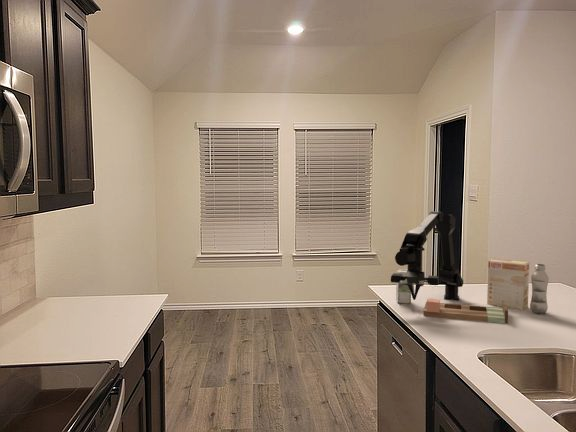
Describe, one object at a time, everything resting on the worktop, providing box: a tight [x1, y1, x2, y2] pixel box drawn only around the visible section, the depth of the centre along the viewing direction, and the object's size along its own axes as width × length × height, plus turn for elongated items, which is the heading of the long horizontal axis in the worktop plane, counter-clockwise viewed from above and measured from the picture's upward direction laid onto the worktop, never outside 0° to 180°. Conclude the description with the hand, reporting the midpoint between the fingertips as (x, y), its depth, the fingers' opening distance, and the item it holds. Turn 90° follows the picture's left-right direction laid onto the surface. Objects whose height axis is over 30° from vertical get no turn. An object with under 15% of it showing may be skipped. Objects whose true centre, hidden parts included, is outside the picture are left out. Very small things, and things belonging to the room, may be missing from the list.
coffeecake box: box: [486, 258, 530, 311], centre depth 203 cm, size 15×7×20 cm, turn 47°
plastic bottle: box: [529, 263, 550, 314], centre depth 192 cm, size 6×7×20 cm
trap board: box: [422, 301, 509, 324], centre depth 191 cm, size 14×31×5 cm, turn 70°
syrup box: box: [395, 269, 412, 305], centre depth 210 cm, size 6×6×14 cm
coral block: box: [425, 298, 441, 313], centre depth 191 cm, size 5×5×4 cm
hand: (414, 299), depth 194 cm, fingers closed
